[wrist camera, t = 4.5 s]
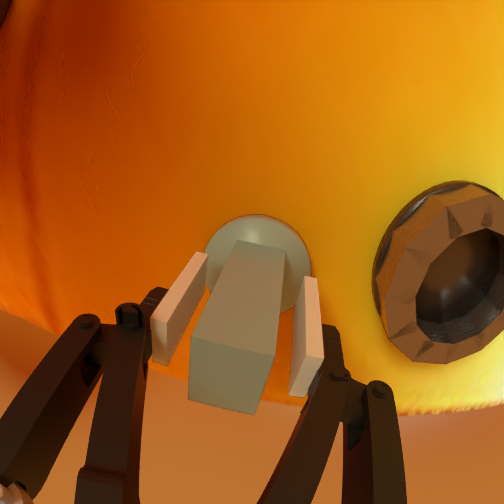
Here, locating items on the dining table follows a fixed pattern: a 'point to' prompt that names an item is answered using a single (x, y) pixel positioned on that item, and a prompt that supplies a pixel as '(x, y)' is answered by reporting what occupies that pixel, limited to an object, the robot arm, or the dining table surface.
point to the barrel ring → (443, 273)
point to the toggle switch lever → (244, 309)
